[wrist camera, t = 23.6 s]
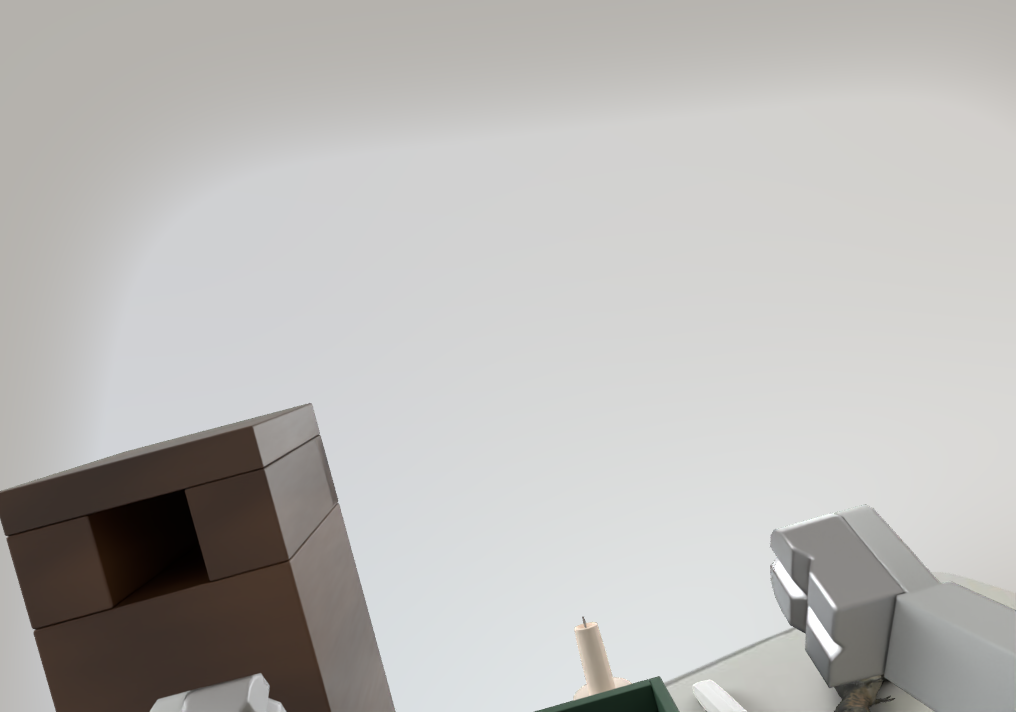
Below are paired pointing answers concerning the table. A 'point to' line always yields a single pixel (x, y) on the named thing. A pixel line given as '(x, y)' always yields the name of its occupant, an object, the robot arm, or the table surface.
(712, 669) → the table surface
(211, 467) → the stand
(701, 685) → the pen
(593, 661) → the candle
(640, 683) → the bin
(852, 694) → the dinosaur
